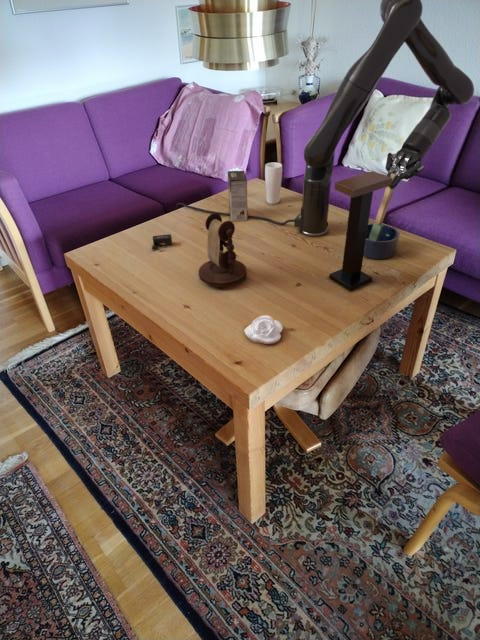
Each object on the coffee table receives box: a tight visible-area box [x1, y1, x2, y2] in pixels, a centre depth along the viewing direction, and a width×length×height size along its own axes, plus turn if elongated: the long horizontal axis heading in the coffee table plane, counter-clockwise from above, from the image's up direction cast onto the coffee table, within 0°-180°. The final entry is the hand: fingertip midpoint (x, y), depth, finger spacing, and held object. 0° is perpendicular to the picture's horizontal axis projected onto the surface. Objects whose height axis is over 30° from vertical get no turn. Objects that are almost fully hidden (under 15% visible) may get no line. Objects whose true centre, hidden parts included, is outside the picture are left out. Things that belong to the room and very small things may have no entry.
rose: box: [244, 315, 283, 345], centre depth 122 cm, size 10×4×10 cm
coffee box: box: [227, 170, 248, 222], centre depth 177 cm, size 9×6×16 cm
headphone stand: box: [328, 170, 392, 292], centre depth 134 cm, size 14×9×31 cm, turn 124°
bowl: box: [363, 223, 400, 260], centre depth 156 cm, size 13×13×6 cm
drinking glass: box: [264, 162, 283, 205], centre depth 187 cm, size 7×7×15 cm
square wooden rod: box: [369, 173, 397, 241], centre depth 151 cm, size 22×3×2 cm
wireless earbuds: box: [151, 233, 173, 251], centre depth 162 cm, size 5×7×3 cm, turn 101°
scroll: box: [198, 213, 248, 290], centre depth 140 cm, size 15×15×20 cm
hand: (387, 186), depth 147 cm, fingers closed on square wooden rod, 2 cm apart
